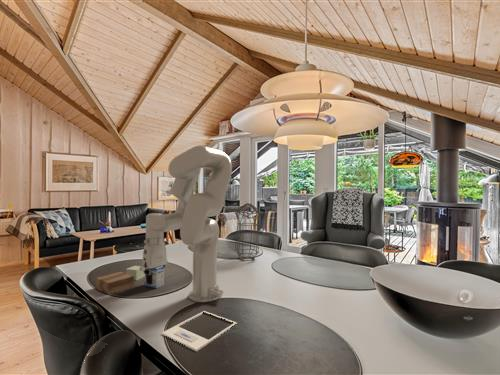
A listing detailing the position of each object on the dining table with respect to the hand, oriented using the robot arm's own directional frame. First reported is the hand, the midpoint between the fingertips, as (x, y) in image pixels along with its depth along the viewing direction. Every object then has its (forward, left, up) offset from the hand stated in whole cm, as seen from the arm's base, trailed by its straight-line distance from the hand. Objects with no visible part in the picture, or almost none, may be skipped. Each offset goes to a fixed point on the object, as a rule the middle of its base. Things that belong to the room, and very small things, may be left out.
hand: (154, 281), depth 121 cm
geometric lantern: (-10, -63, -2) cm, 64 cm away
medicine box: (0, 0, -2) cm, 2 cm away
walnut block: (+12, +11, -2) cm, 16 cm away
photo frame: (-43, +17, -3) cm, 46 cm away
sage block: (+16, -2, -2) cm, 16 cm away
